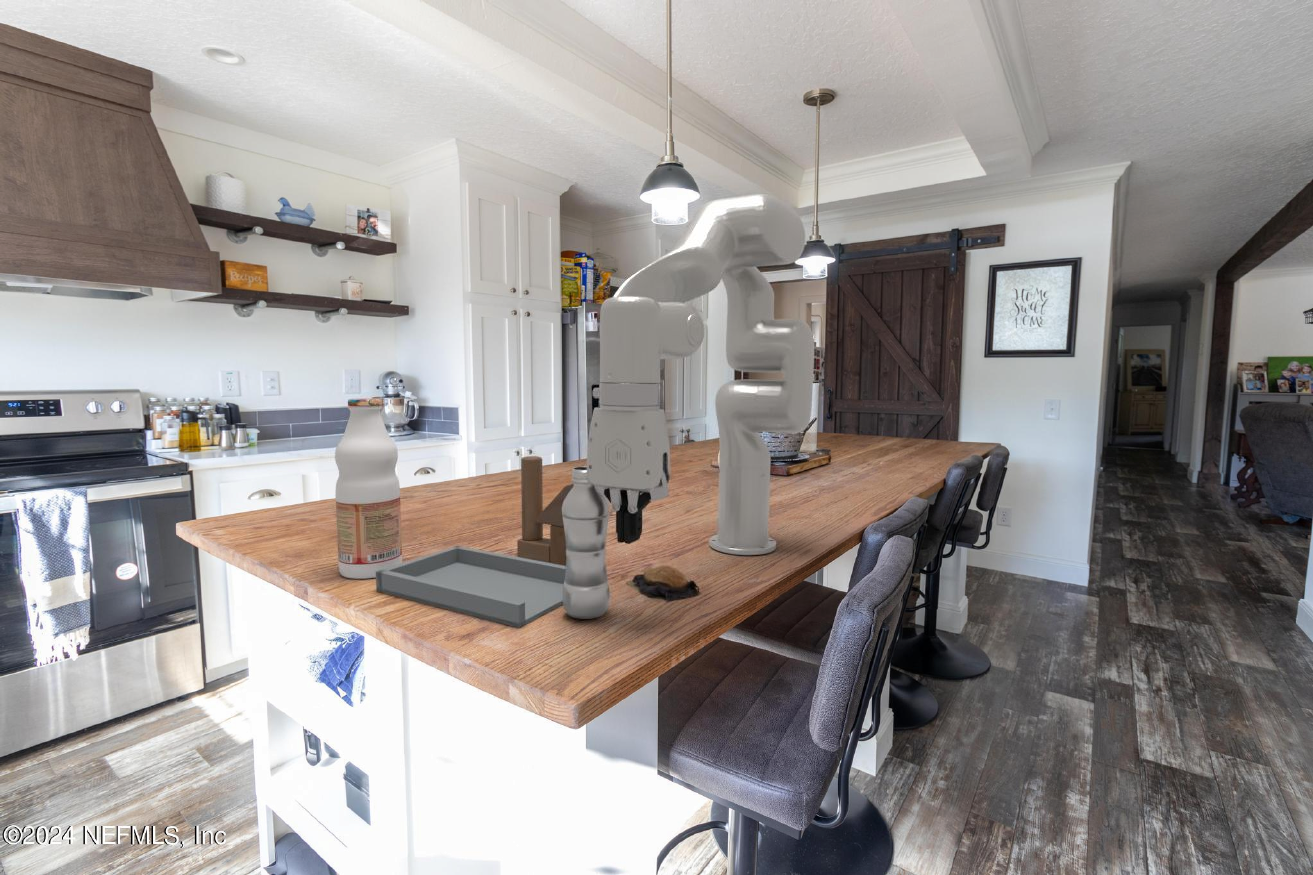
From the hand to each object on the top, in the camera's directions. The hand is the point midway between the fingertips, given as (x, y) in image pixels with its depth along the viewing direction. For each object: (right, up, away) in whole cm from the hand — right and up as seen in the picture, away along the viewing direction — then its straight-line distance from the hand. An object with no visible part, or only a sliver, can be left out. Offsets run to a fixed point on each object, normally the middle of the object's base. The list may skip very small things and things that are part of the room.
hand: (628, 540), depth 79 cm
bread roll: (+5, -11, +15) cm, 19 cm away
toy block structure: (-15, -9, +27) cm, 32 cm away
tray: (-22, -10, +13) cm, 27 cm away
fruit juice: (-43, -9, +21) cm, 49 cm away
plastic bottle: (-6, -11, +4) cm, 13 cm away
